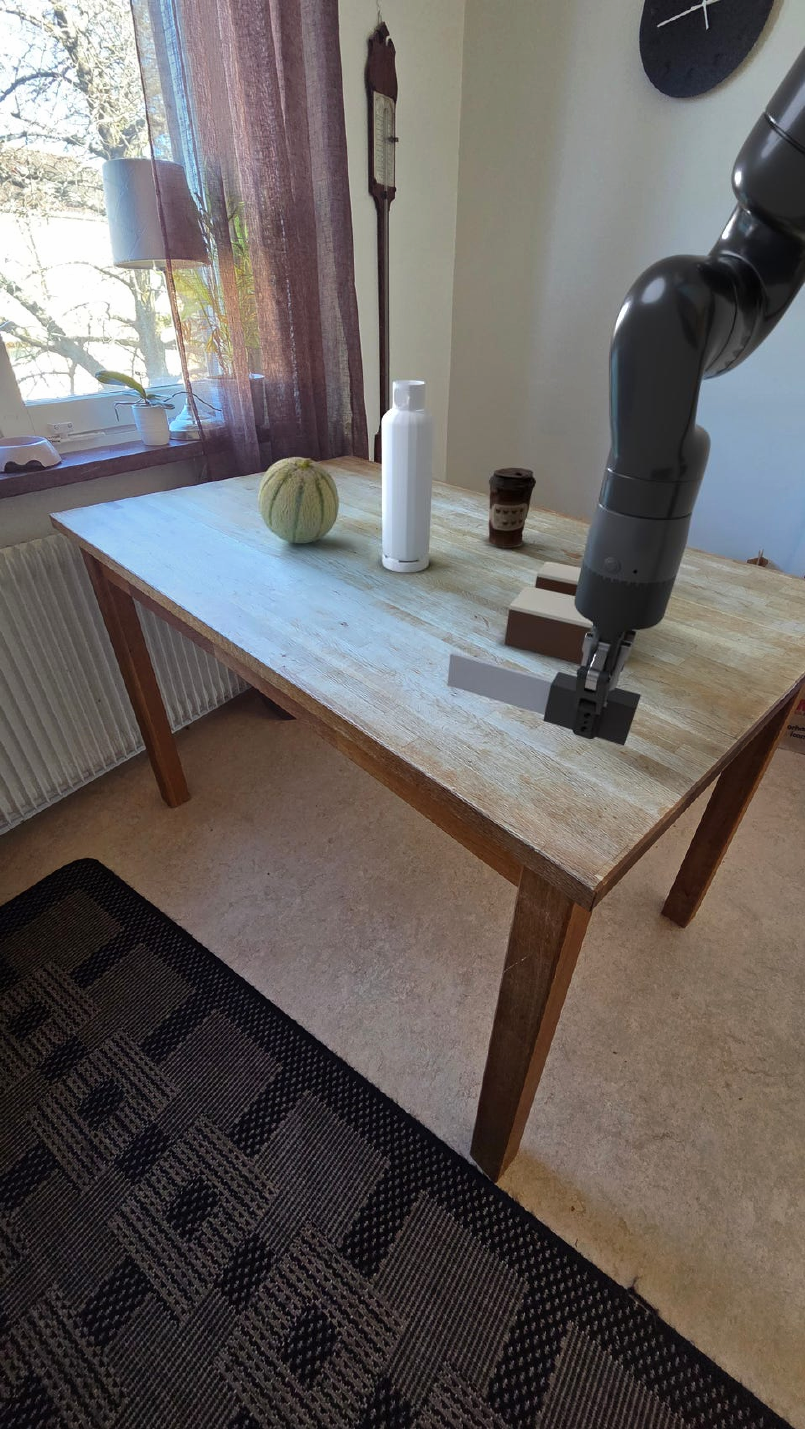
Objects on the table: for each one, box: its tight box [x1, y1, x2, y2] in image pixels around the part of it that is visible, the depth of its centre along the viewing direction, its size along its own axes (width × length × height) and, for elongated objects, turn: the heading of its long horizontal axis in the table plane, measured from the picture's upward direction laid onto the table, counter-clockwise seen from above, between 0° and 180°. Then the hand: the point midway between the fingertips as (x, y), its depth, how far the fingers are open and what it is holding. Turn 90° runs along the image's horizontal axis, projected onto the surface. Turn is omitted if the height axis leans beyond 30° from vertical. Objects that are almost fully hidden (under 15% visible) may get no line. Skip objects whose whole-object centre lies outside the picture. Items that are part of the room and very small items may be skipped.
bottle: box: [381, 379, 436, 573], centre depth 97 cm, size 8×8×28 cm
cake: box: [504, 585, 592, 667], centre depth 82 cm, size 12×7×6 cm, turn 62°
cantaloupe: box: [257, 456, 340, 544], centre depth 109 cm, size 15×15×15 cm
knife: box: [446, 651, 642, 747], centre depth 60 cm, size 19×3×4 cm, turn 63°
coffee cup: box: [488, 467, 537, 549], centre depth 110 cm, size 9×8×13 cm
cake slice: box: [534, 561, 581, 596], centre depth 90 cm, size 12×5×6 cm, turn 63°
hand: (587, 725), depth 60 cm, fingers closed on knife, 2 cm apart
